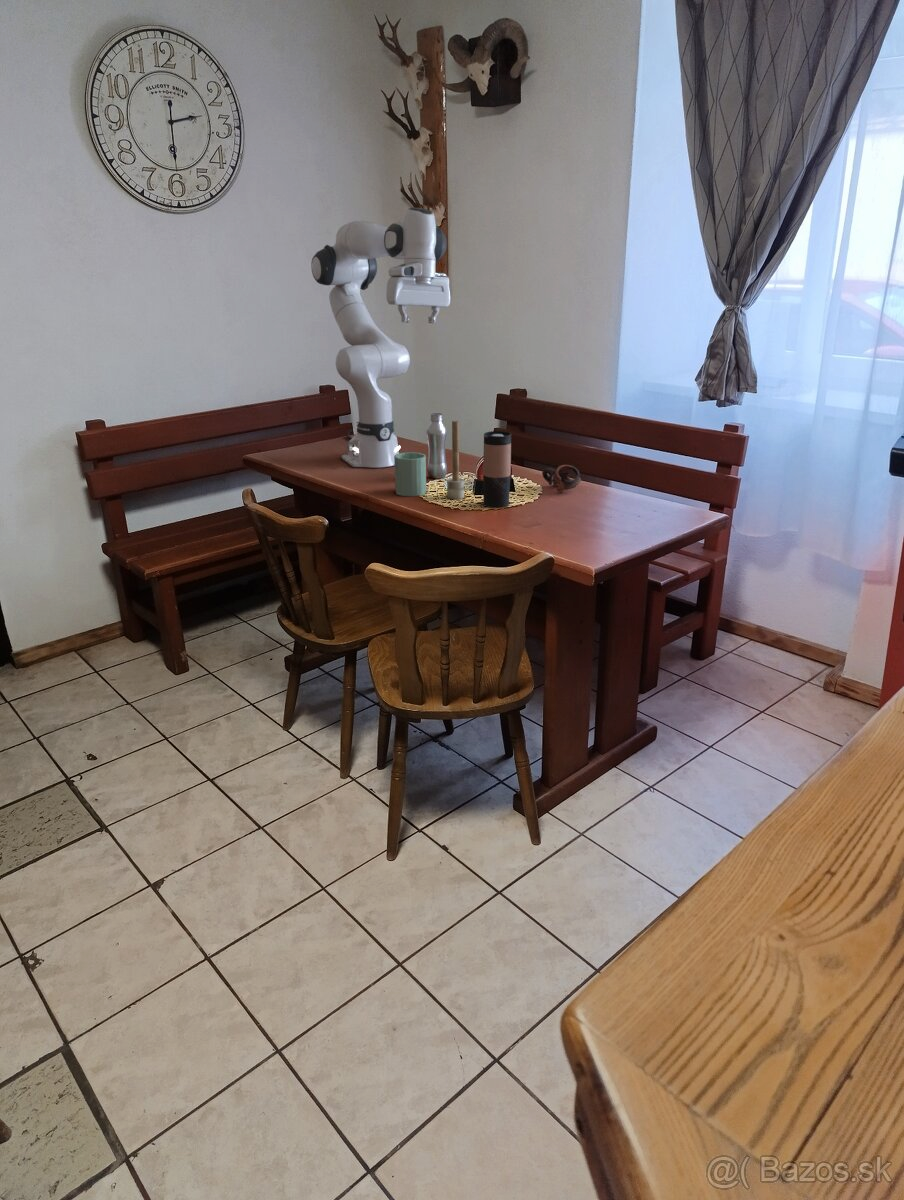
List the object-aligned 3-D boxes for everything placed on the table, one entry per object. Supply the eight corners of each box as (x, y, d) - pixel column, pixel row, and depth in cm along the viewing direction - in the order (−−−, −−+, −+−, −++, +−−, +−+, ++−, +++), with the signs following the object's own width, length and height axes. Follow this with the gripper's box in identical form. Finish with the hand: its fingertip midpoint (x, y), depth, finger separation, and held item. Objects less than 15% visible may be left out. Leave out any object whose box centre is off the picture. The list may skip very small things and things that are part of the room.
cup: (389, 491, 244) (388, 454, 239) (415, 486, 248) (415, 450, 244) (405, 498, 237) (404, 460, 232) (432, 493, 241) (431, 456, 237)
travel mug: (512, 501, 232) (514, 432, 225) (505, 509, 226) (507, 437, 218) (487, 499, 235) (488, 430, 227) (479, 506, 228) (480, 435, 220)
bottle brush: (443, 496, 238) (443, 420, 230) (457, 493, 241) (457, 419, 232) (453, 500, 234) (453, 423, 226) (467, 497, 237) (467, 421, 228)
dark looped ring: (580, 487, 249) (586, 467, 242) (571, 507, 244) (577, 487, 237) (543, 474, 251) (548, 454, 244) (534, 494, 246) (538, 474, 239)
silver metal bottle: (448, 475, 261) (447, 412, 254) (446, 480, 255) (445, 416, 247) (428, 474, 262) (427, 412, 254) (425, 480, 256) (424, 416, 248)
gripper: (442, 273, 237) (441, 323, 241) (383, 269, 225) (383, 321, 229) (455, 273, 232) (454, 324, 237) (396, 268, 220) (395, 322, 225)
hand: (418, 322), depth 233 cm, fingers open, 8 cm apart
